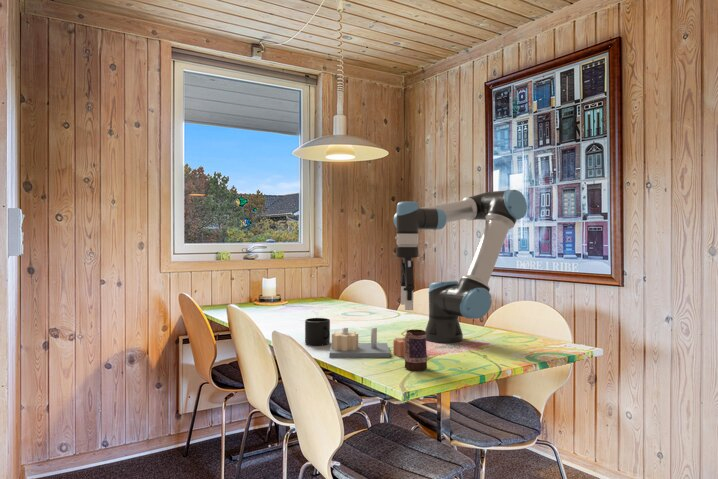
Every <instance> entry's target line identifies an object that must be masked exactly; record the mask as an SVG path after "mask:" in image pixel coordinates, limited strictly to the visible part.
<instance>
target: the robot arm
mask: <svg viewBox="0 0 718 479" xmlns="http://www.w3.org/2000/svg"><path fill="white" fill-rule="evenodd" d="M527 210H528V203H527V200H526V198H525V195H524V194H523V193H522V192H521V191H520V190H518V189H509V188H508V189H506V190H496V191H487V192H483V193H479V194H475V195H472V196H471V195H470V196H467V197H464V198H463V199H462V200H457V201H453V202H447V203H442V204H435V205H429V206H423V207H419V203H418V201H399V202H398V203H397V205H396V212H395V214H394V216H393V224H394V226H395V228H396V236H395V237H394V239H395V240H396V245H397V246H396V251H395V252H396V256H395V257H396V258H402V259H401V262H400V266H401V267H400V268H401V269H400V281H399V282H400V305H401V306H402V305H403V306H404V310H405V311H414V290H415V278H414V277H415V276H414V260H412V259H417V258H418V257H419V247H418V246H419V231H420V230H425V231H426V230H433V231H437V230H442V229H444V228H445V226H446V225H447V223H451V222H455V221H456V222H457V221H461V220H466V221H475V220H482V221H483V220H484V221H486V224H485V227H484V229H483V232H482V235H481V237H480V239H479V243H478V245H477V248H476V250H475V252H474V255H473V258H472V259H471V261H470V265H469V267H468V270H467V272H466V275H464V276H462V277H460V279H459V281H458V280H451V281H450V280H449V281H437V282H436V281H434V282H431V283H430V284H429V287H428V288H429V289H428V322H427V324H426V326H425V330H424V331H425V332H426V341H430V342H433V343H444V344H445V343H447V344H449V343H451V344H452V343H459V342H462V341H463V339H464V334H463V330H462V327H461V324H460V321H459V317H461V318H464V319H465V318H466V319H470V320H471V319H474V320H475V319H476V320H477V319H481V318H483V317H484V316H486V315H487V314H488V313H489V311H490V309H491V306H492V303H493V301H492V294H491V293H490V289H491V287H490V285H489V282H490V279H491V276H492V273H493V270H494V269H495V267H496V266H495V265H496V263H497V262H498V261H497V260H498V258H499V255H500V253H501V250H502V248H503V244H504V243H505V240H506V238H507V235H508V233H509V230H511V229H513V228H514V227H515V225H516V222H517V221H518V220H521V219H523V218H524V217H525V216H526V214H527Z"/></svg>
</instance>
